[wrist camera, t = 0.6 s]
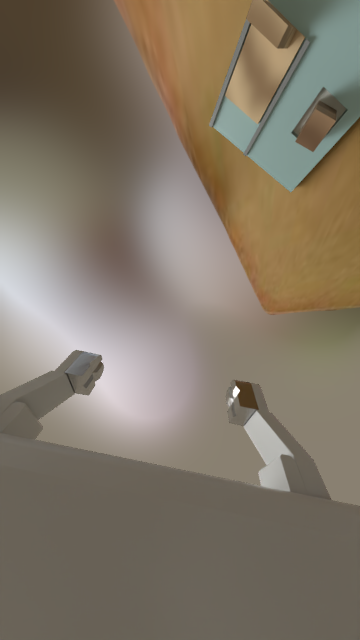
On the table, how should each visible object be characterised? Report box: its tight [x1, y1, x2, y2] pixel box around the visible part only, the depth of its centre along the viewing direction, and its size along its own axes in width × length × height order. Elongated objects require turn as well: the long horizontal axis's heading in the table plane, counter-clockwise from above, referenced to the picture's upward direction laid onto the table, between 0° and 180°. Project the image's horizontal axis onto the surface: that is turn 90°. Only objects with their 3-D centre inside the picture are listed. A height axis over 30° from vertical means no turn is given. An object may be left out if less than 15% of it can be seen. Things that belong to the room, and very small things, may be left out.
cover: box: [225, 0, 305, 124], centre depth 25 cm, size 9×8×10 cm
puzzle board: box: [209, 0, 360, 192], centre depth 28 cm, size 18×23×3 cm
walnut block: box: [295, 100, 337, 152], centre depth 27 cm, size 4×4×9 cm
